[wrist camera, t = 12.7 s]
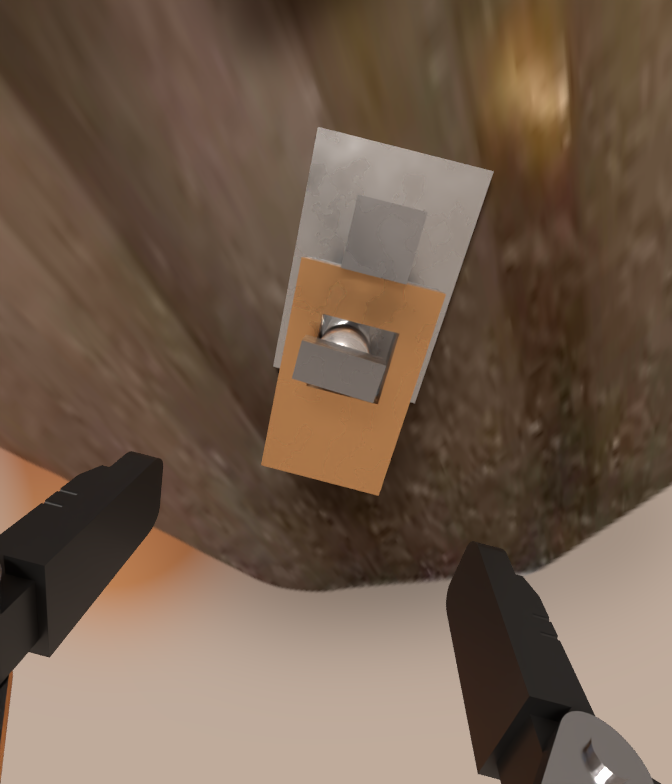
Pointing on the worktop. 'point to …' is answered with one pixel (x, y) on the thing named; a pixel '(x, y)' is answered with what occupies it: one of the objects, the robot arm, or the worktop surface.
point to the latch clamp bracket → (368, 297)
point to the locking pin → (341, 361)
